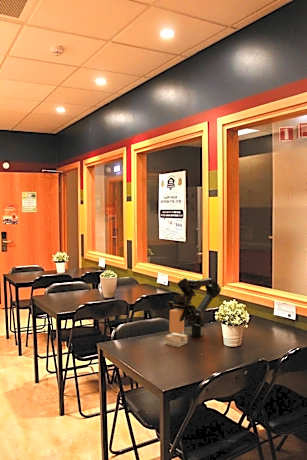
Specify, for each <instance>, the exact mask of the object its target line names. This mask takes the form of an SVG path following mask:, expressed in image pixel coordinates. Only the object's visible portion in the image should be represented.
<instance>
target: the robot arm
mask: <svg viewBox="0 0 307 460" xmlns="http://www.w3.org/2000/svg"><path fill="white" fill-rule="evenodd" d="M177 287H178V288H179V289H180V291H181V293H182V295H179V294H175V295H174V298H173V301H170V300H169V301H167V302H166V306H167V308H168V310H169V311H170V310H173V309H181V310H184V312H183V314H182V316H181V318H180V322H181V321H182V320H184V321H185V319H187V323H188V325H189V326H191V333H190V334H189V336H191V337H193V338H200V337H203V336H204V333H202V328H204V327H205V326H206V325H205V324H206V321H205V320H204V314H205V312H206V311H207V308H208V307H209V306H210V304H211V302H212V301H213V299H215V298H217V297H218V296H219V295H220V294H221V290H222V289H221V287H220V285H219V284H218V283H217V282H216V281H215V279H214V278H210V277H209V278H208V277H206V278H201V279H197V280H196V279H188V278H185V277H184V278H183V279H181V280H179V281H178V282H177ZM202 287H205V292H206V293H205V295H204V297H203V298H202V299H201V302H200V303H199V304H198V307H196V306H195V305H193V304H192V299H193V298H194V297H196V295H197V294H196V291H198V290H200V289H201V288H202ZM194 290H195V291H194ZM175 302H176V303H175Z"/></svg>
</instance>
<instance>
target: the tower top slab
mask: <svg viewBox="0 0 307 460" xmlns="http://www.w3.org/2000/svg"><path fill="white" fill-rule="evenodd" d="M165 340H166V341H171V342H175V343H181V342H183V341H185V340H187V341H188V334H183V333H174V332H171V333H169V334H168V335H165Z"/></svg>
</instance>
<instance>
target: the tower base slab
mask: <svg viewBox="0 0 307 460" xmlns="http://www.w3.org/2000/svg"><path fill="white" fill-rule="evenodd" d="M186 344H188V339H187V340H185V341H183V342H181V343H175V342H171V341H166V339H165V345H170V346H173V347H178V348H180V347H182V346H184V345H186Z"/></svg>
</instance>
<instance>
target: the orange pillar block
mask: <svg viewBox="0 0 307 460" xmlns="http://www.w3.org/2000/svg"><path fill="white" fill-rule="evenodd" d="M183 312H184V310H182V309H173V310H170V309H169V328H168V329H169V332H171V333H179V334H181V333H183V332H184V331H185V319H184V320H182V321H181V322H180V318H181V316H182V314H183Z"/></svg>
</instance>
